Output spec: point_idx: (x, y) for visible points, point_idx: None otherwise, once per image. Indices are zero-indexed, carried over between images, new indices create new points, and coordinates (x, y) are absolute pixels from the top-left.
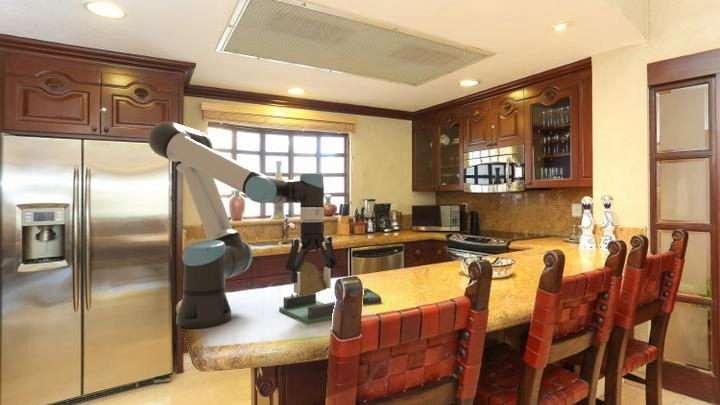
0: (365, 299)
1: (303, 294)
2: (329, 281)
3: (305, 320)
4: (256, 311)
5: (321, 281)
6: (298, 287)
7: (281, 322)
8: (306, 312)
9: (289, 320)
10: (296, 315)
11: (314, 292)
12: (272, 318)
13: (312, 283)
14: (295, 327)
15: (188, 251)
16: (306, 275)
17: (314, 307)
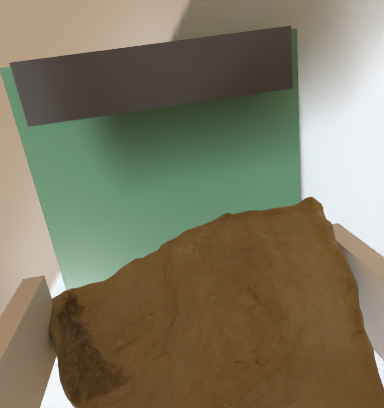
0: None
1: (300, 209)
2: (13, 316)
3: (294, 60)
4: (373, 349)
5: (96, 339)
6: (365, 246)
7: (371, 147)
8: (233, 183)
9: (327, 158)
10: (299, 163)
11: (197, 230)
12: (371, 227)
13: (224, 280)
14: (360, 26)
15: None
16: (312, 354)
17: (259, 57)
